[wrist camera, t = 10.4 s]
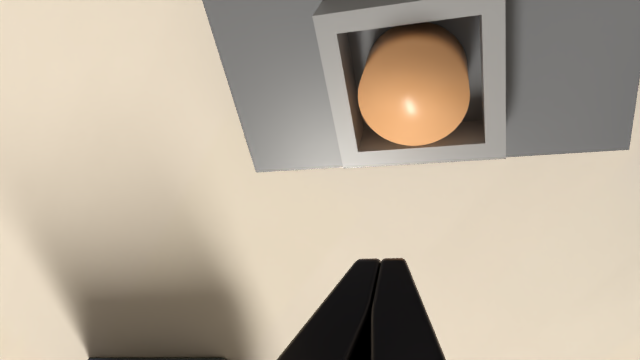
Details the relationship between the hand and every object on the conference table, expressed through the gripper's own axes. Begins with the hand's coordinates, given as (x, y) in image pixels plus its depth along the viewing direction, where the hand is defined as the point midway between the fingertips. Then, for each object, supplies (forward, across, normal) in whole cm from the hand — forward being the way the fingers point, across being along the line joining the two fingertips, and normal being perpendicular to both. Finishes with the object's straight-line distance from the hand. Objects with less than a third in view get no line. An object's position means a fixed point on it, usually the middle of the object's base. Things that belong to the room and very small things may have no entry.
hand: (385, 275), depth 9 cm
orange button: (+9, 0, 0) cm, 9 cm away
